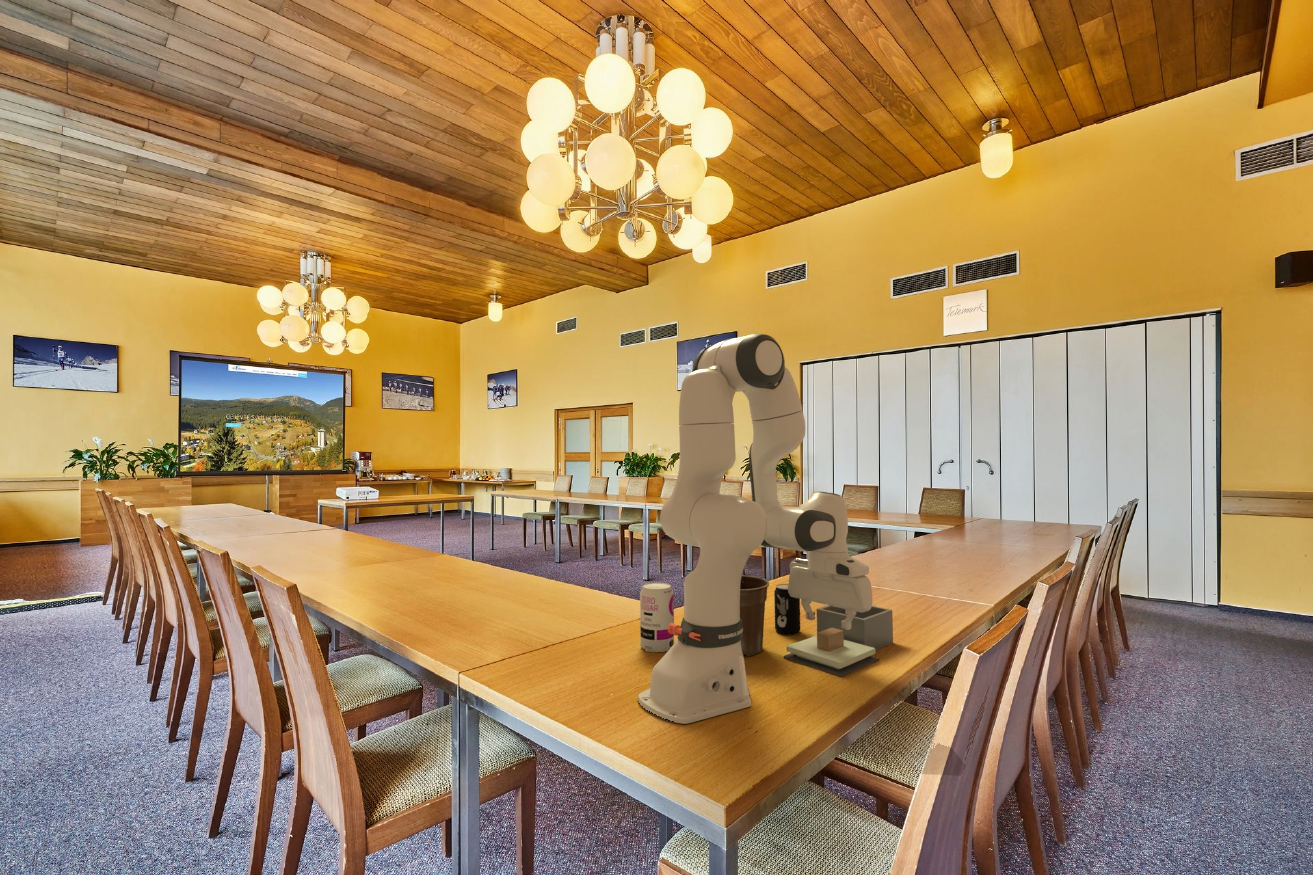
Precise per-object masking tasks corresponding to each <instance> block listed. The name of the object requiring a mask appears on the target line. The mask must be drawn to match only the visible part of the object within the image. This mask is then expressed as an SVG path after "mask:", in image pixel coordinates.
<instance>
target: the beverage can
mask: <svg viewBox="0 0 1313 875" xmlns="http://www.w3.org/2000/svg"><path fill="white" fill-rule="evenodd" d="M773 593H774V594H773V597H774V629H775V631H776V632H777V633H778V634H780V635H785V636H794V635H798V634H799V633H800V631H801V599H799V598H795V597H791V596H790V594H789V593H788V583H779V584H776V585H775V589H774V591H773Z"/></svg>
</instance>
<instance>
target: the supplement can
mask: <svg viewBox="0 0 1313 875" xmlns="http://www.w3.org/2000/svg"><path fill="white" fill-rule="evenodd" d="M674 591H675V590H673V587H672V585H671V584H670V583H665V582H648V583H645V584H643V585H642V587H641V590H640V592H639V598H640V599H639V604H640V606H639V609H640V610H639V612H640V616H639V617H640V618H639V619H640V620H639V621H640V622H639V623H640V626H639V627H640V628H639V629H640V631H639V632H640V634H639V635H640V647H641V648H642V649H643V648H644V649H645V650H647V651H646V652H648V651H650V652H649V653H654V652H661V653H665V651H666V652H668V650H669V649H670V648H671V647H672V646H673V645H674V644H675V635H674V634H670V633H669V632H668V631H669V630H668V626H669V624H671V623H673V624H675V602H674V601H675V596H674V594H675V593H674ZM644 649H643V650H644ZM645 650H644V651H645Z"/></svg>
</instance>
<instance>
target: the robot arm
mask: <svg viewBox="0 0 1313 875" xmlns="http://www.w3.org/2000/svg"><path fill="white" fill-rule="evenodd" d="M785 364H786V361H785V356H784V353H783V350H782V348H781V346H780V344H779V342H778V341H777V340H776V339H775V338H774V337H772V336H771V335H769V334H764V333H750V334H748V335H746V336H740V337H734V338H733V337H732V338H727V339H725V340H721V341H719V342H717V343H715V344H710V345H708V346H707V347H705V348H703V349H702V350H700V351H699V353H698V354H697V355H696V356H695V359H694V361H693V364H692V369H691V371H692V372H690V373H688V374H687V375H686V376H685V377H684V378H683V381H682V383H681V387H680V394H679V403H678V404H679V406H678V427H679V428H678V429H679V430H678V432H679V434H678V435H679V436H678V437H679V465H678V466H679V467H678V473H677V477H676V481H675V484H674V487H673V490H672V493H671V494H670V496H669V497H668V498H667V500H666V501H665V502H664V503H663V505H662V507H661V509H660V516H659V517H660V518H659V520H660V525H661V528H662V531H663V533H664V534H666V535H667V536H668V537H669V538H671V539H673V540H674V541H677V542H679V543H680V544H683V545H687V546H691V547H697V548H699V555H698V556H699V557H698V560H697V564H696V567H695V568H694V569H693V570H691V571H690V572H689V573H688V574H687V575H686V577H685V579H684V581H683V613H684V614H683V618H682V620H681V623H680V625H679V624H676V623H674V624H673V623H671V624H669V626H668V630H669V631H668V632H669V633H670V634H674V636H676V637H677V639H676V641H674V645H673V646H672V647H671V648H670V649H669V651H666V653H665V654H664V655H663V656H662V657H661V658H660V659H659V661H658V662H657V663H656V664H655V665H654V667H653V668H652V672H651V674H650V675H651V676H650V686H649V688H648V689H645V690H644V691H641V692H640V693H639V694H638V696H637V701H639V702H638V703H640V704H639V705H640V706H641V707H642V706H643V707H642V708H643V709H644V708H645V710H646V711H647V710H648V711H647V712H649V711H650V712H649V713H651V712H652V713H653V714H652V713H651V714H652V715H654V714H656V715H657V717H658V716H660V717H662V718H661V719H663V718H664V719H663V720H665V719H668V720H670V721H669V722H672V721H674V722H673V723H677V724H683V725H685V724H686V725H687V724H691V723H694V722H695V723H696V722H699V721H701V720H706V719H710V718H714V717H717V716H720V715H724V714H727V713H728V714H729V713H731V712H736V711H738V710H742V709H743V710H744V709H745V708H746V709H747V708H749V707H751V706H752V700H751V696H750V694H751V692H750V688H749V685H748V681H747V680H748V679H747V674H746V666H745V658H744V654H743V653H742V648H741V639H742V638H743V627H742V619H741V618H740V583H741V577H742V576H743V572H744V569H745V567H746V563H747V561H748V560H749V558H750V556H751V554H752V553H753V552H755V551H756V550H757V549H758V548H759V547H760V546H762V547H765V548H775V549H779V548H780V549H785V550H790V551H799V552H805V553H806V552H807V559H805V558H799V557H796V558H794V559H792V560H791V562H790V563H789V572H790V573H789V576H788V583H787V584H788V593H789V594H790V596H791V597H795V598H799V599H800V605H801V606H802V608H803V610H804V612H805V620H807V621H808V620H809V621H814V620H815V619H816V616H815V615H816V612H815V611H814V610H812V606H811V604H812V602H813V603H817V604H822V605H825V606H828V605H830V606H834V607H839V608H843V609H845V613H846V614H848V615H847V617H846V619H845V620H842V621H841V624H842V625H841V628H843V629H846V630H849V629H851V621H852V620H853V618H854V617H855V615H856V612H861V613H862V612H866V611H869V610H870V609H871V607H872V606H873V590H872V583H871V580H870V578H869V577H868V576H867V575H869V574H870V567H869V565H868V564H866V563H864V562H861V561H860V560H858V559H856V558H854V557H853V556H852V555H851V556H850V555H849V548H848V545H847V536H848V533H849V532H848V531H849V522H848V521H849V519H848V507H847V503H846V500H845V498H844V497H843V496H842V495H840V494H837V493H834V492H827V491H815V492H811V494H810V497H809V498H808V499H807V500H806V501H805V502H804V503H802V504H800V505H798V506H787V505H783V504H782V503H781V502H780V501H779V498H778V488H777V486H778V485H777V475H776V474H777V473H776V472H777V470H776V469H777V465H778V463H779V462H780V460H782V459H783V458H784V457H787V456H789V455H790V454H792V453H793V452H794V451H796V450H797V449H798V448H799V446H800V445H801V444H802V443H803V441H804V439H805V437H806V420H805V419H806V418H805V416H804V411H803V407H802V403H801V402H802V401H801V398H800V394H799V391H798V389H797V386H796V383H795V381H794V378H793V375H792V373H791V371H790V370H789V369H788V368H787V366H786V365H785ZM736 392H737V393H741V392H742V393H743V394H744V395H745V397H746V398H747V400H748V403H749V411H750V412H749V413H750V417H751V423H752V430H753V439H752V442H751V444H750V447H749V451H748V464H749V466H748V467H749V476H750V489H751V491H750V492H751V499H749V498H746V497H743V496H740V495H737V494H736V495H735V494H721V493H720V491H721V490H720V489H721V484H722V481H723V479H724V476H725V475H726V473H727V472H728V471H729V470H731V469H732V468H733V466H734V464H735V462H736V459H737V458H736V436H735V432H736V431H735V416H734V406H733V402H734V398H735V394H736ZM656 715H655V716H656ZM660 717H659V718H660ZM668 720H667V721H668Z"/></svg>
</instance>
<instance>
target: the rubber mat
mask: <svg viewBox="0 0 1313 875" xmlns="http://www.w3.org/2000/svg"><path fill="white" fill-rule="evenodd" d="M783 659H786V660H789V661H792V662H794V663H797V664H800V665H804V666H807V667H809V668H812V669H816V670H819V671H822V672H825V673H828V674H830V675H834V676H837V677H840V678H843V677H846V676H848V675H850V674H852V673H854V672H855V673H856V672H857V671H858V670H860V669H862V668H866V667H868V666H870V665H872V664H874V663H876V662H878V661H880V658H879V657H878V656H877V657H876V656H872V655H871V656H869V657H866V658H864V659H862V660H859V661H857V662H855V663H853V664H850V665H848V666H846V667H843V668H841V669H835V668H832V667H829V666H826V665H823V664H820V663H817V662H814V661H810V660H807V659H804V658H801V657H798V656H797V655H796V654H793V653H790V652H789V653H788V654H785V655H783Z"/></svg>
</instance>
